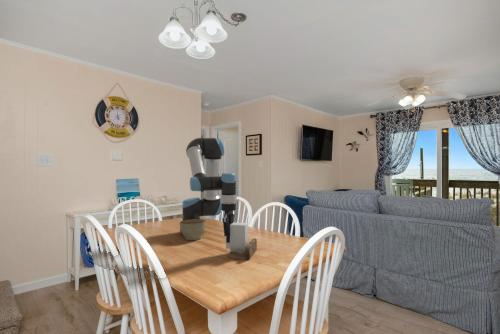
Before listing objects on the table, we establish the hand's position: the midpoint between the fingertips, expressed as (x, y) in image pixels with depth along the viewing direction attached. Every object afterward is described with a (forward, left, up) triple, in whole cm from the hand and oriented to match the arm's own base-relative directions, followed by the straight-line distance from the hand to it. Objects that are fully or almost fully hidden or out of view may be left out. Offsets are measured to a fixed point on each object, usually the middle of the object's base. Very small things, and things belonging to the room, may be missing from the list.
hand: (228, 248), depth 143 cm
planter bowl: (-22, -31, -3) cm, 38 cm away
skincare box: (0, +5, -3) cm, 6 cm away
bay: (0, +8, -3) cm, 8 cm away
